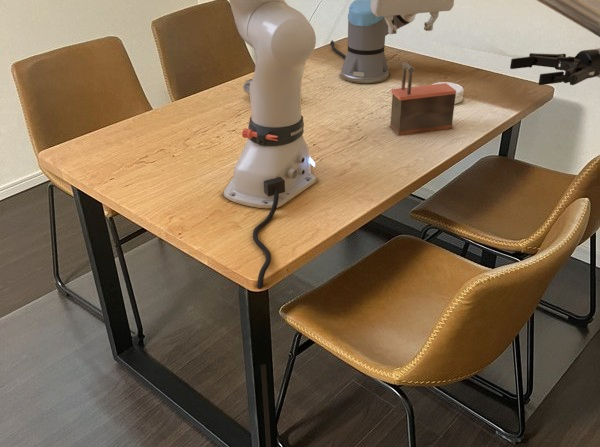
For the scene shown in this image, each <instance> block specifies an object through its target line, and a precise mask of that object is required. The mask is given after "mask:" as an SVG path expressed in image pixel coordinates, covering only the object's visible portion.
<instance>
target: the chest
mask: <svg viewBox="0 0 600 447" xmlns="http://www.w3.org/2000/svg"><path fill="white" fill-rule="evenodd" d="M391 94H392V93H391ZM455 96H456V94H450V95H441V96H433V97H425V98H416V99H408V100H399V99H398V98H397V97H396V96H394V95H393V94H392V95H391V112H390V125H389V127H390V128H391V129H392V130H393V131H394V132H395V133H396V134H397V135H398V136H403V135H411V134H419V133H420V134H421V133H426V132H427V133H428V132H433V131H434V132H435V131H440V130H441V131H442V130H447V129H448V130H450V129H452V128H453V119H454V111H455V105H456V104H455Z"/></svg>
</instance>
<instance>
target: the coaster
mask: <svg viewBox="0 0 600 447" xmlns="http://www.w3.org/2000/svg"><path fill="white" fill-rule="evenodd" d="M443 83H446V84H448V85H449V86H450V87H452V88H453V89H455V90H456V96H455V104H454V105H456V104H459V103H461V102H462V101H463V99H464V91H465V88H464V87H463V86H462V85H460V84H458V83H455V82H449V81H440V82H439V81H438V82H435V83H432V84H431V85H434V84H443Z"/></svg>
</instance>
